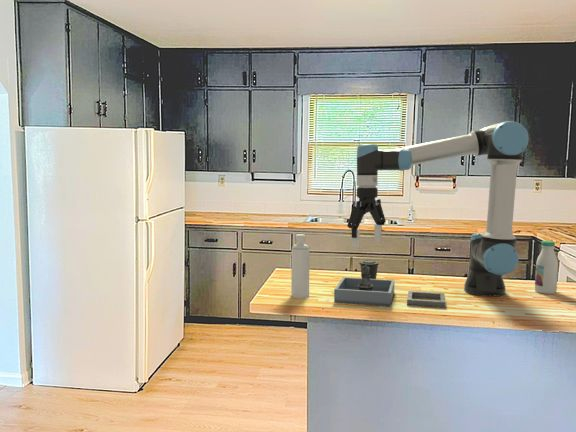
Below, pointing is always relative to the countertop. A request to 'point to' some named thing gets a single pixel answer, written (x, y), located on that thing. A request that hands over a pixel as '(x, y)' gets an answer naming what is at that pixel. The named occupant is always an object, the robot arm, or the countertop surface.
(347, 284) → the bin
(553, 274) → the milk bottle
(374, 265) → the coffee cup
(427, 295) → the collar
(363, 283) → the dark grey tall piece
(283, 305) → the countertop surface
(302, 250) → the white plastic bottle
